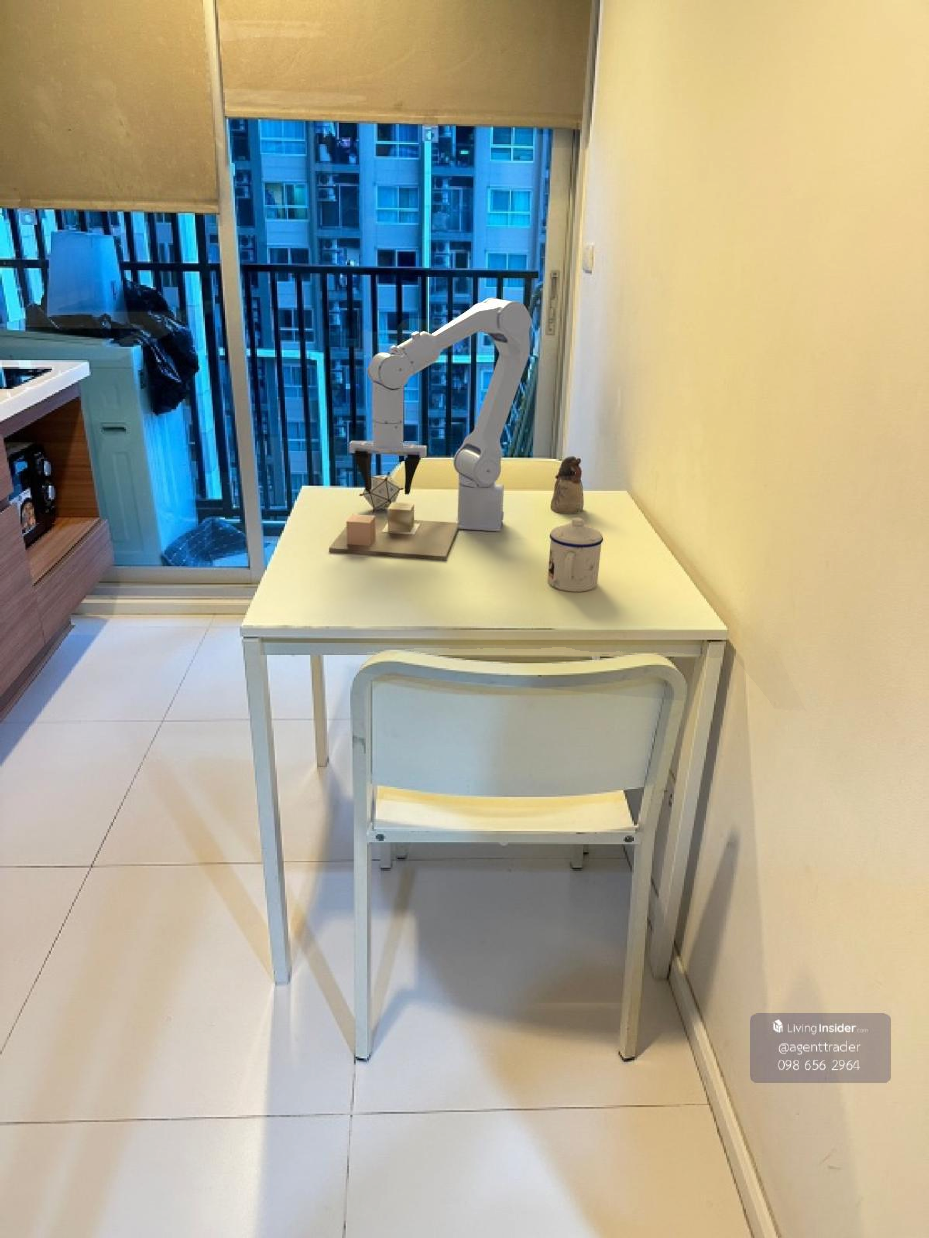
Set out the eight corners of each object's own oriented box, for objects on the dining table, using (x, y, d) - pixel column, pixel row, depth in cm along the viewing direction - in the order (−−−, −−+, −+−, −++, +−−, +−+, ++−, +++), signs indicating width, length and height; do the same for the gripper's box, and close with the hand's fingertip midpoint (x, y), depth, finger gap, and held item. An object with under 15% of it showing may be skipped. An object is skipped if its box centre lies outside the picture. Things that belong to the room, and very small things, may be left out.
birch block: (414, 525, 168) (414, 503, 166) (410, 532, 164) (410, 510, 162) (392, 523, 168) (392, 502, 166) (387, 530, 164) (387, 508, 162)
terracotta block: (375, 538, 161) (375, 515, 159) (370, 545, 156) (370, 523, 155) (352, 536, 161) (352, 514, 159) (347, 544, 157) (346, 521, 155)
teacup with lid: (551, 570, 150) (556, 508, 145) (601, 577, 148) (608, 514, 143) (538, 595, 139) (542, 529, 134) (591, 602, 137) (598, 536, 132)
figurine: (569, 503, 189) (574, 451, 184) (589, 511, 183) (594, 458, 178) (544, 507, 185) (548, 454, 180) (563, 516, 180) (568, 461, 175)
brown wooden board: (459, 526, 171) (459, 522, 171) (445, 560, 153) (445, 555, 153) (354, 519, 173) (354, 515, 173) (329, 552, 155) (328, 547, 155)
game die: (388, 528, 180) (400, 500, 172) (351, 513, 179) (361, 484, 171) (399, 498, 185) (411, 470, 177) (363, 484, 184) (373, 454, 176)
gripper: (344, 422, 152) (346, 494, 157) (422, 427, 150) (421, 500, 156) (354, 415, 158) (355, 484, 164) (429, 420, 157) (427, 490, 162)
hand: (387, 491), depth 160 cm, fingers open, 7 cm apart
